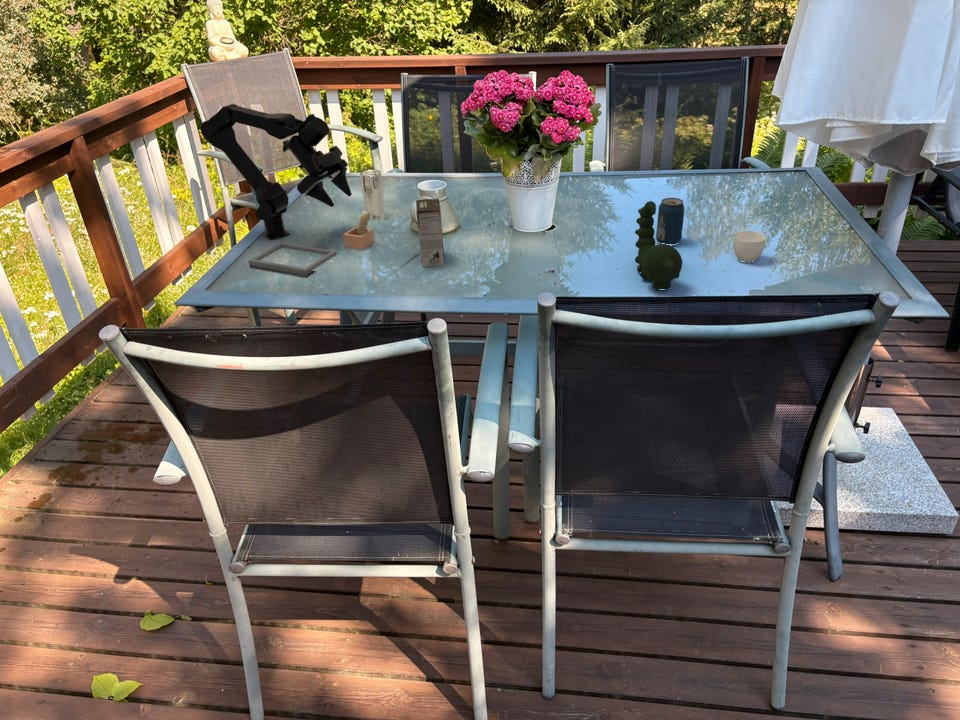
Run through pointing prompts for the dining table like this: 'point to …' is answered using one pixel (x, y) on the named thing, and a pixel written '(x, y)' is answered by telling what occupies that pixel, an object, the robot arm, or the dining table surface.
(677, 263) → the toy figurine
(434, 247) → the coffee box
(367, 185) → the beer glass
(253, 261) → the charcoal frame
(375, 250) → the dining table surface
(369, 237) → the terracotta box
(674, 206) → the soda can
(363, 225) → the wooden dowel
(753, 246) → the cup
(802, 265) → the dining table surface
